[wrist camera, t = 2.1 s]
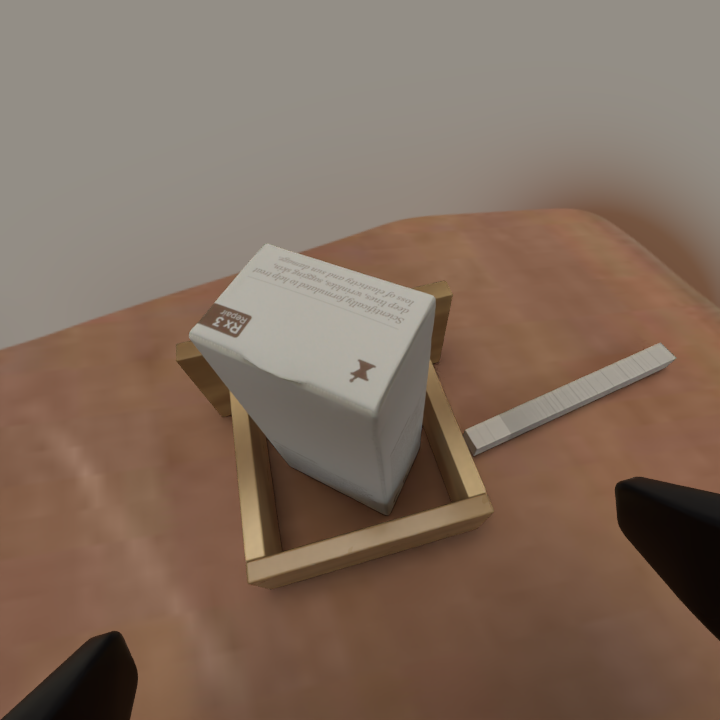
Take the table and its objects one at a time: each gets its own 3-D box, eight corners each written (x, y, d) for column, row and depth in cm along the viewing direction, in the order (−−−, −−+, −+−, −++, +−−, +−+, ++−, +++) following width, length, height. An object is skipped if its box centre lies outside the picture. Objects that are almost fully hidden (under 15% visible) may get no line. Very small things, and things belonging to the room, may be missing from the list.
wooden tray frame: (508, 519, 19) (551, 484, 14) (236, 600, 18) (177, 593, 13) (433, 348, 25) (445, 279, 20) (220, 402, 24) (175, 343, 18)
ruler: (650, 352, 24) (660, 342, 23) (666, 367, 23) (676, 357, 22) (462, 437, 21) (465, 429, 21) (473, 456, 21) (477, 449, 20)
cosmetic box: (422, 443, 22) (453, 286, 11) (387, 524, 19) (385, 421, 9) (321, 399, 23) (269, 229, 13) (279, 469, 21) (179, 331, 11)
